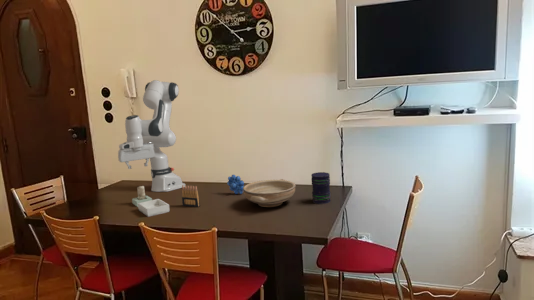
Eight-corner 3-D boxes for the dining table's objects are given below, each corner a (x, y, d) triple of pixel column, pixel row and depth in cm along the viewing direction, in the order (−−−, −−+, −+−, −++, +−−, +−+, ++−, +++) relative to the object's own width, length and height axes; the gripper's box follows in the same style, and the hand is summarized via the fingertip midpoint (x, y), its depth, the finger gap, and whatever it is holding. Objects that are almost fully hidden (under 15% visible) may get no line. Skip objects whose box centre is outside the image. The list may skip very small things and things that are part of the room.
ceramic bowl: (261, 193, 251) (260, 176, 249) (306, 195, 239) (305, 178, 238) (231, 212, 218) (229, 193, 216) (281, 216, 206) (280, 196, 204)
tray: (159, 205, 239) (158, 198, 238) (169, 211, 226) (169, 204, 225) (138, 210, 233) (137, 203, 232) (148, 216, 219) (147, 209, 219)
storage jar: (333, 199, 229) (332, 172, 226) (327, 204, 220) (326, 176, 218) (315, 198, 233) (314, 171, 231) (310, 203, 224) (308, 176, 222)
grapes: (224, 195, 251) (223, 175, 249) (230, 192, 257) (228, 173, 255) (241, 196, 246) (240, 176, 244) (247, 193, 252) (245, 174, 250)
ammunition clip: (200, 206, 232) (198, 185, 230) (198, 207, 231) (196, 186, 229) (184, 204, 237) (182, 184, 235) (182, 205, 235) (180, 185, 233)
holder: (147, 200, 252) (147, 195, 251) (152, 203, 245) (151, 198, 244) (132, 203, 247) (132, 198, 247) (137, 206, 240) (136, 201, 239)
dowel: (144, 202, 248) (142, 185, 247) (146, 203, 245) (145, 186, 244) (138, 203, 246) (136, 187, 245) (140, 204, 243) (138, 188, 241)
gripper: (151, 141, 248) (153, 164, 250) (116, 145, 237) (118, 169, 239) (154, 142, 243) (157, 165, 245) (118, 146, 232) (121, 171, 234)
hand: (138, 167), depth 242 cm, fingers open, 8 cm apart
